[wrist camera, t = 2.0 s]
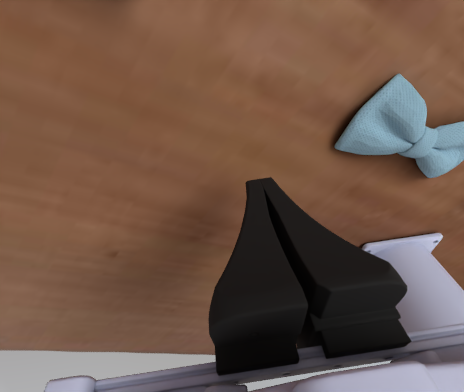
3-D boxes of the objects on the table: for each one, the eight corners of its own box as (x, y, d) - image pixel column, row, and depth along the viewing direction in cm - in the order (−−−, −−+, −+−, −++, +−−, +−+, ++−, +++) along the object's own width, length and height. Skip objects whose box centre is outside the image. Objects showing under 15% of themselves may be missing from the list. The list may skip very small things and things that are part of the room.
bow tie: (520, 130, 14) (448, 190, 17) (495, 119, 16) (432, 177, 19) (400, 73, 11) (338, 157, 14) (381, 65, 13) (327, 144, 16)
